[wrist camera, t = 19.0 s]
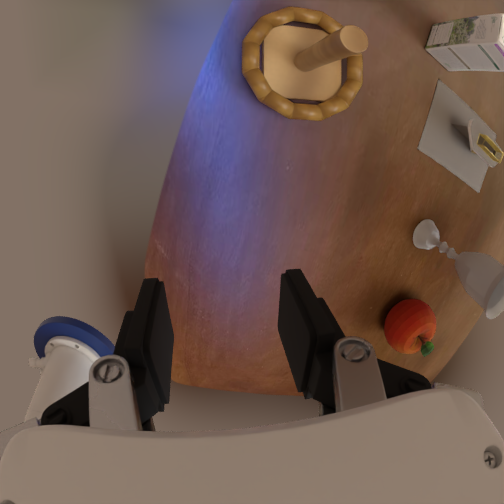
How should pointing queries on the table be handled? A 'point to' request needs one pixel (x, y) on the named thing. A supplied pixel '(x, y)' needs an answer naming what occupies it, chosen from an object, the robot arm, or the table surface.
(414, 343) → the fruit
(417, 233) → the chalice
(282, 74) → the post
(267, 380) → the table surface
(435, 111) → the platform
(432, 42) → the syrup box
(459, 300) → the table surface
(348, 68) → the ring
